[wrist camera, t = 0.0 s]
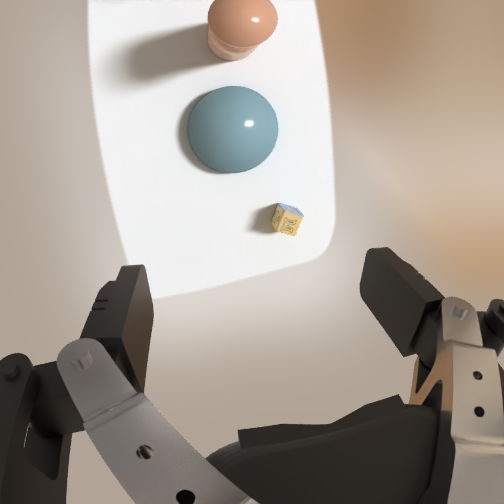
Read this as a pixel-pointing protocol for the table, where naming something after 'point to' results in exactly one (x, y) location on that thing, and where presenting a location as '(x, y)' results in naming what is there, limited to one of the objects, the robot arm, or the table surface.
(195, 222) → the table surface
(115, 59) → the table surface
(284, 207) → the alphabet block
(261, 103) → the blue-grey round disc
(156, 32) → the table surface
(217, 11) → the dome-topped peach cylinder
